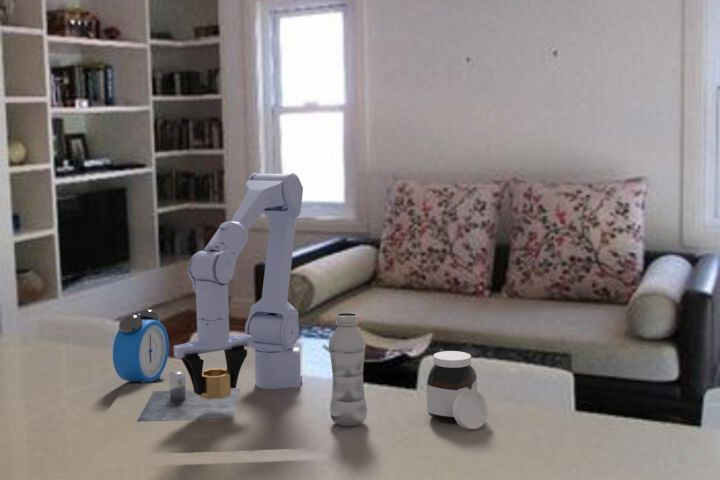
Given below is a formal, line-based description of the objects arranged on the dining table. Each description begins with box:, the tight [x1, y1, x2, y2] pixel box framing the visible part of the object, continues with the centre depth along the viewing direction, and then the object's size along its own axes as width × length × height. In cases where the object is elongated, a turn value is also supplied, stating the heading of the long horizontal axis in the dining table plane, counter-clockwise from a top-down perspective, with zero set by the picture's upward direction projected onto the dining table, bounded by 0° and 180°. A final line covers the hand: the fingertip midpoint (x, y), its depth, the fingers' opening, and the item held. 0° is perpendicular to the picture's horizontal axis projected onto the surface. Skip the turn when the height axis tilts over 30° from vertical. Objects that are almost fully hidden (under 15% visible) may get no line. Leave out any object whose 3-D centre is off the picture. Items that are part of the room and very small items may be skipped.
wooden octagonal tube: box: [199, 368, 232, 399], centre depth 158 cm, size 6×6×4 cm
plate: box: [136, 370, 241, 422], centre depth 163 cm, size 17×18×6 cm
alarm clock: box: [112, 307, 170, 384], centre depth 183 cm, size 13×6×15 cm, turn 162°
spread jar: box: [426, 350, 489, 430], centre depth 156 cm, size 12×11×12 cm
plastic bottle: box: [328, 312, 368, 427], centre depth 154 cm, size 6×7×20 cm
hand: (215, 390), depth 158 cm, fingers closed on wooden octagonal tube, 6 cm apart
